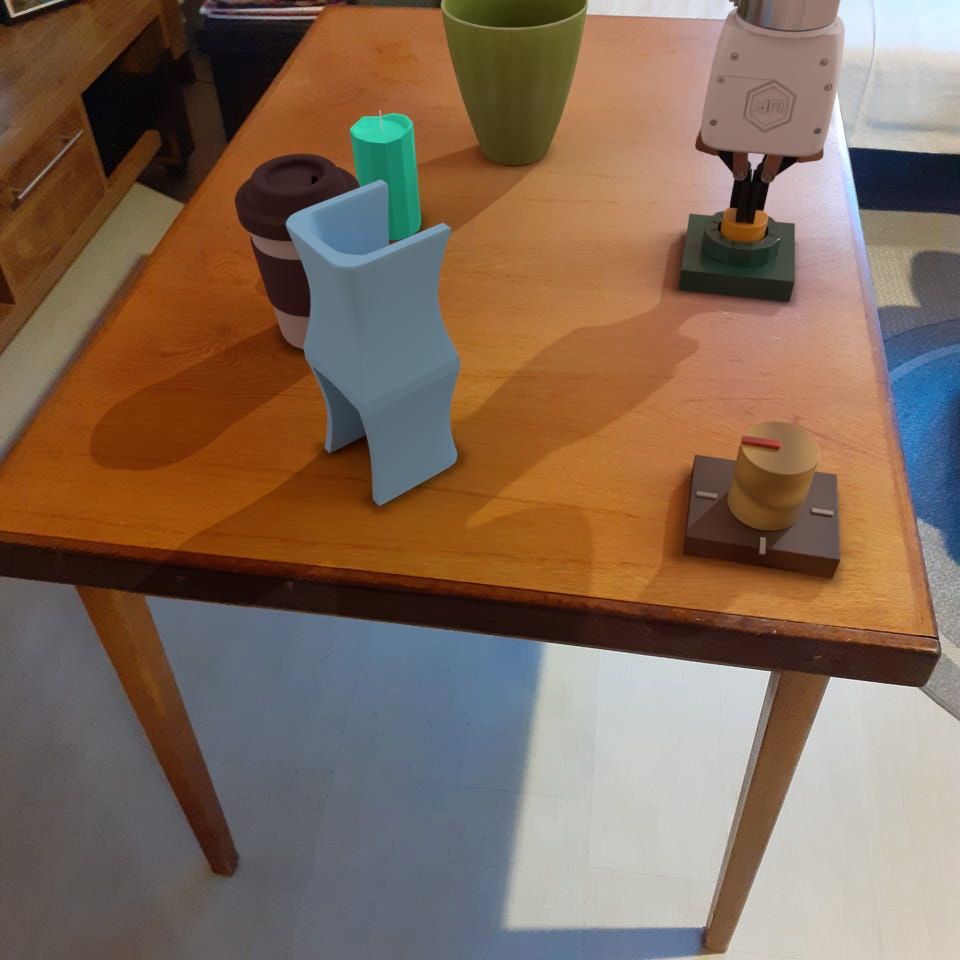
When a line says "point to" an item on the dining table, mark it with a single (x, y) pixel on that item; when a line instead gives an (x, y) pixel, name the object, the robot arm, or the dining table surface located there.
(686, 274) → the switch box
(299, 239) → the light blue open shell
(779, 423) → the knob
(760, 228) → the button
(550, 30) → the flower pot
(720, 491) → the dimmer
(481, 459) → the dining table surface
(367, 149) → the candle
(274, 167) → the coffee cup
